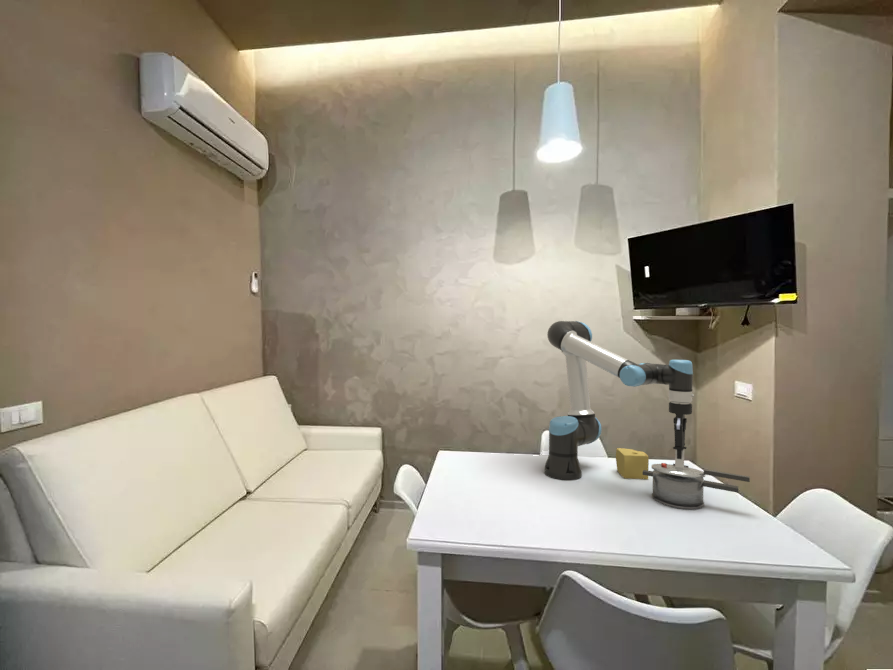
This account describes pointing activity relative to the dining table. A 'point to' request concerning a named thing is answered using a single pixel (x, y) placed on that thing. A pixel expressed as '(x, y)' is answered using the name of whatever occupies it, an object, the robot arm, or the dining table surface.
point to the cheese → (631, 463)
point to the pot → (682, 490)
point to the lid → (695, 472)
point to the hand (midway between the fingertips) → (679, 466)
